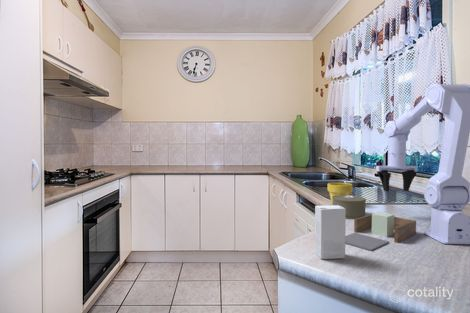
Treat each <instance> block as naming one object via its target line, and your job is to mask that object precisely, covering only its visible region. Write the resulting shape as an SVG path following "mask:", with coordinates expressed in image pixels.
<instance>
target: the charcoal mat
mask: <svg viewBox="0 0 470 313" xmlns="http://www.w3.org/2000/svg"><path fill="white" fill-rule="evenodd" d="M389 243H390V241H388V240H385V239H380V238H378V237H377V238H376V237H373V236H369V235H365V234H360V233H359V232H353V233H350V234H347V235H345V245H349V246H351V247H356V248H359V249H362V250H367V251H369V252H372V251H375V250H376V249H379V248H381V247H383V246H385V245H387V244H389Z"/></svg>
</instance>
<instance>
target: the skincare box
mask: <svg viewBox="0 0 470 313" xmlns="http://www.w3.org/2000/svg"><path fill="white" fill-rule="evenodd" d="M314 207H315V208H314V215H315V217H314V244H315V245H314V253H315V255H316V256H317V257H318V258H320V260H334V259H335V260H336V259H337V260H338V259H345V258H346V244H345V236H346V219H345V213H346V209H345V208H343V207H341V206H338V205H332V204H331V205H330V204H329V205H314Z"/></svg>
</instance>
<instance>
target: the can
mask: <svg viewBox="0 0 470 313" xmlns="http://www.w3.org/2000/svg"><path fill="white" fill-rule="evenodd" d="M332 199H333V205H338V206H341V207H343V208H345V209H346V213H345V220H354V219H356V218H360V217H363V216H366V202H367V198H365V197H362V196H356V195H351V194H350V195H337V196H333V197H332Z"/></svg>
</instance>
